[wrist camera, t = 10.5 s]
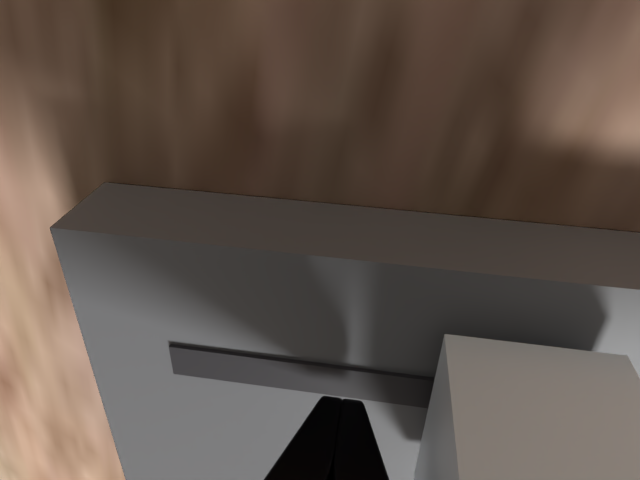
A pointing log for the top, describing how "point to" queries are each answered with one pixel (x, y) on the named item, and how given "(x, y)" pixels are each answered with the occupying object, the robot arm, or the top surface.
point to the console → (311, 315)
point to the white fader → (530, 414)
